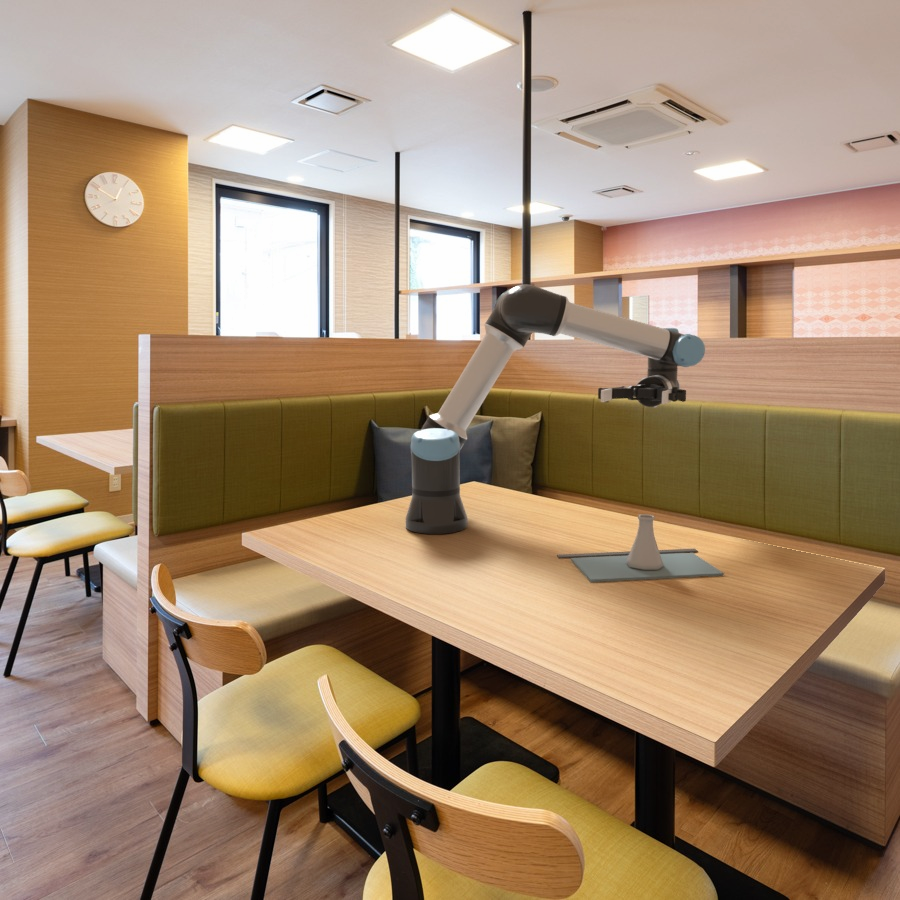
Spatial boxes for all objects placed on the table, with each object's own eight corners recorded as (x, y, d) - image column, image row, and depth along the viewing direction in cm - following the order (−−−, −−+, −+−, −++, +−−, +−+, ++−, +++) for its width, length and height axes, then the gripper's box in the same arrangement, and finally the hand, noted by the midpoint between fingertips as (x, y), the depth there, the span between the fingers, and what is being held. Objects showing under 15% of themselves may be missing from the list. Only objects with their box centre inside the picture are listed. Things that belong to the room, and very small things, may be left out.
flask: (664, 561, 135) (666, 512, 133) (663, 572, 128) (665, 521, 127) (626, 558, 137) (628, 510, 136) (624, 569, 130) (625, 519, 129)
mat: (590, 582, 125) (590, 579, 125) (570, 560, 138) (570, 558, 138) (723, 575, 128) (724, 573, 128) (692, 554, 140) (692, 552, 140)
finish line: (559, 558, 139) (559, 556, 139) (557, 555, 141) (557, 554, 141) (697, 552, 142) (697, 550, 142) (694, 549, 144) (694, 548, 144)
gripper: (705, 407, 163) (690, 415, 145) (604, 404, 175) (578, 411, 157) (706, 376, 162) (691, 380, 144) (604, 375, 174) (578, 379, 156)
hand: (632, 396), depth 150 cm, fingers open, 13 cm apart
